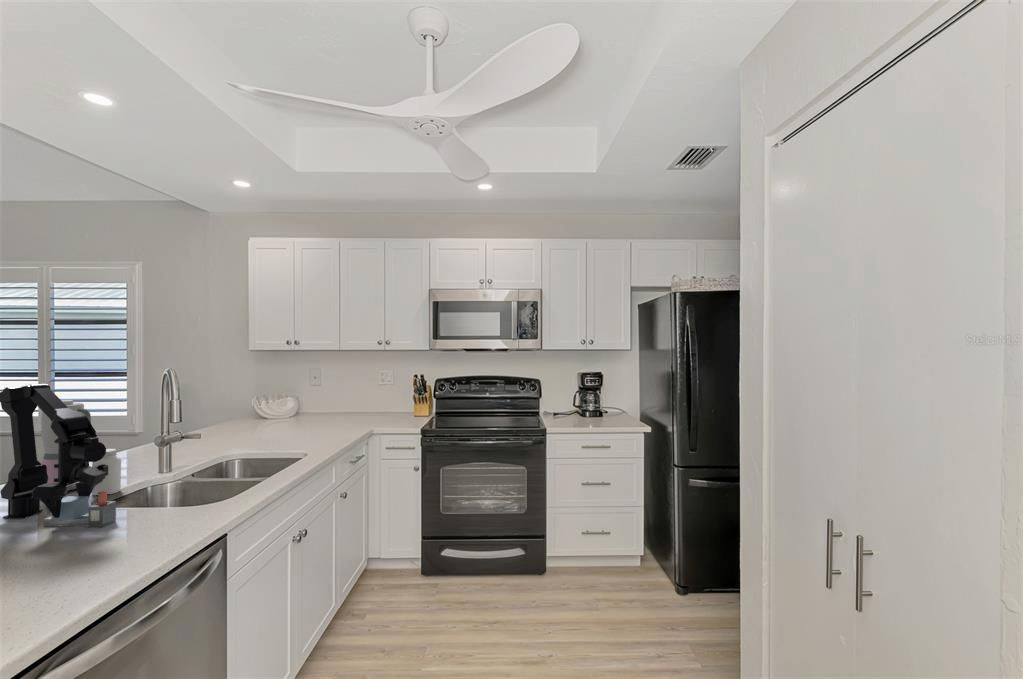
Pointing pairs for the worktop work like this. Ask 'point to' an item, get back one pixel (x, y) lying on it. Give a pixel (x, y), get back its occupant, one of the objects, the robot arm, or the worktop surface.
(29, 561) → the worktop surface
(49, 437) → the blender
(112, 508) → the end cabinet
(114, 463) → the pill bottle
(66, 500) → the pale blue box
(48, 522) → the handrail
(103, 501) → the gauge button
